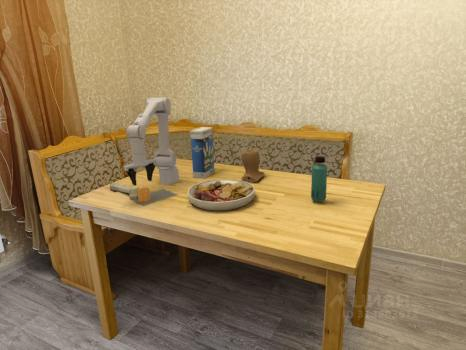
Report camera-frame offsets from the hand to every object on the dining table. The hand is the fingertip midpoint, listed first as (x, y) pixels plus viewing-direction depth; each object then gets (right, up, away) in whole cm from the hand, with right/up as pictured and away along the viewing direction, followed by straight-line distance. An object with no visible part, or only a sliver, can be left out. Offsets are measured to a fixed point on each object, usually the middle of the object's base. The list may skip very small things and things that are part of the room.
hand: (142, 182), depth 147 cm
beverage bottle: (+77, -8, -4) cm, 77 cm away
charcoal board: (+4, -8, +6) cm, 10 cm away
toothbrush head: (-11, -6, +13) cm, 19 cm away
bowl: (+35, -8, +3) cm, 36 cm away
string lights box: (+24, +3, +40) cm, 46 cm away
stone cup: (+50, +1, +30) cm, 58 cm away
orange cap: (0, -8, +2) cm, 8 cm away
